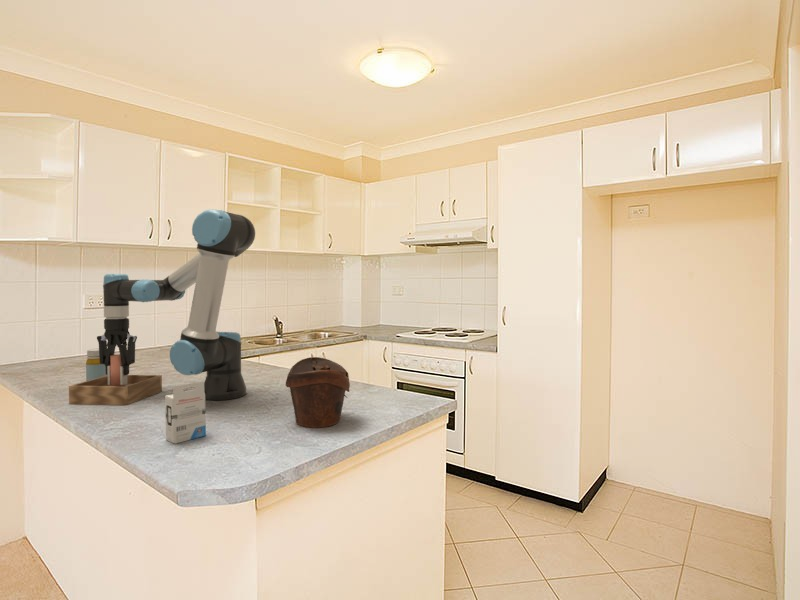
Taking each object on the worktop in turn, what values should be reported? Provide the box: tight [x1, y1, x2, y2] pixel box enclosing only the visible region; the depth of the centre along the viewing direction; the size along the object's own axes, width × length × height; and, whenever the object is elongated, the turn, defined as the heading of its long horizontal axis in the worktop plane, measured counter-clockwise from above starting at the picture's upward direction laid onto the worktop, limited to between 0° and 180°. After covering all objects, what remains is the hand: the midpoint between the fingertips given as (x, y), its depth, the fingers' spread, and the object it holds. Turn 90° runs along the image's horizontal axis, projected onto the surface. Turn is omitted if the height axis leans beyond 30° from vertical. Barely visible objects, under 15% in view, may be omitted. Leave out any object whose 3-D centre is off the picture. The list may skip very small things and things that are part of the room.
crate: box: [68, 374, 163, 406], centre depth 162 cm, size 20×20×6 cm
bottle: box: [85, 348, 107, 381], centre depth 175 cm, size 7×7×15 cm
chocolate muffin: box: [285, 356, 351, 429], centre depth 134 cm, size 18×20×18 cm
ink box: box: [164, 380, 207, 444], centre depth 120 cm, size 8×5×15 cm, turn 140°
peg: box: [110, 353, 124, 387], centre depth 162 cm, size 4×4×14 cm
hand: (117, 383), depth 162 cm, fingers closed on peg, 4 cm apart
